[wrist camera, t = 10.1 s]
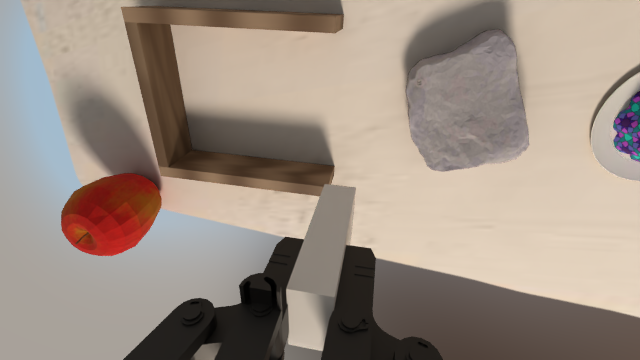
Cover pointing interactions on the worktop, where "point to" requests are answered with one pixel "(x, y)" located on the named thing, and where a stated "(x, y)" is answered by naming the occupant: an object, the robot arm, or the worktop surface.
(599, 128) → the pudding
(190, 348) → the robot arm
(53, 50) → the worktop surface
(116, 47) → the worktop surface
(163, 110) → the cubby
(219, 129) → the worktop surface
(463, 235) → the worktop surface
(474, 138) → the stone block
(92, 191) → the apple
